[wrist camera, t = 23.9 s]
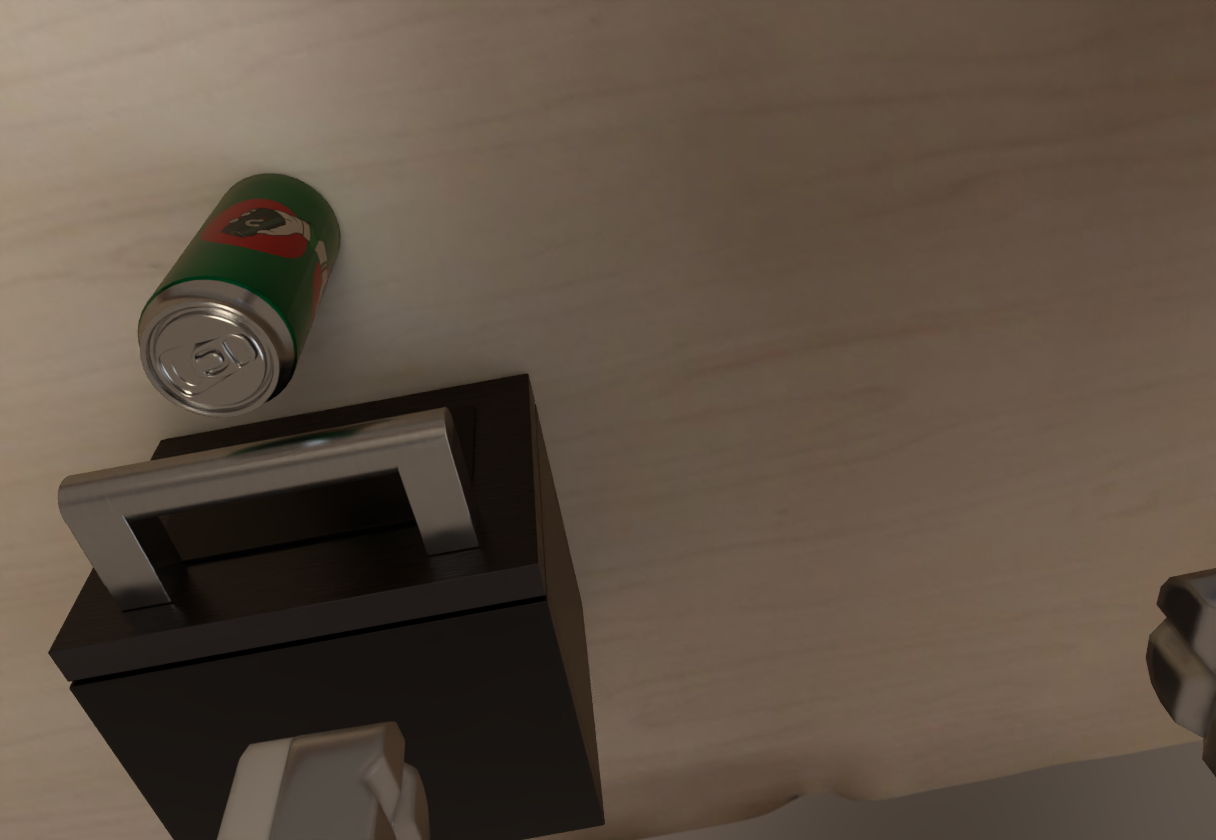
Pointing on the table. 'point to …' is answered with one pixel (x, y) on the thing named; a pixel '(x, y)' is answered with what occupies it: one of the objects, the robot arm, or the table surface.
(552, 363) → the table surface
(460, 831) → the oven
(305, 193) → the soda can
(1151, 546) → the table surface
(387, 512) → the oven door
